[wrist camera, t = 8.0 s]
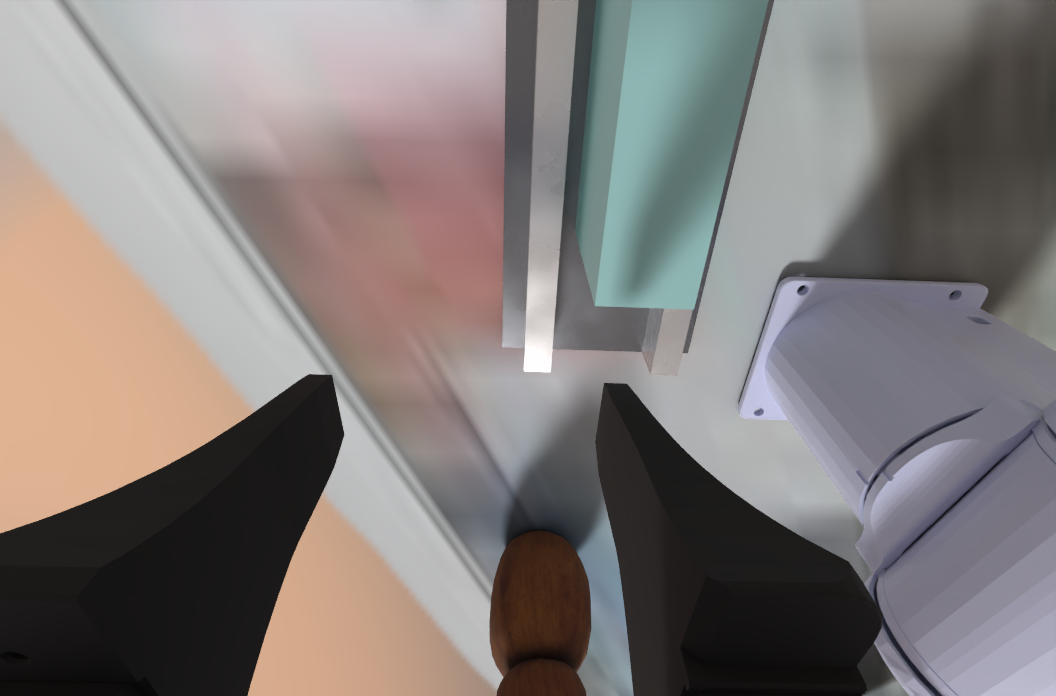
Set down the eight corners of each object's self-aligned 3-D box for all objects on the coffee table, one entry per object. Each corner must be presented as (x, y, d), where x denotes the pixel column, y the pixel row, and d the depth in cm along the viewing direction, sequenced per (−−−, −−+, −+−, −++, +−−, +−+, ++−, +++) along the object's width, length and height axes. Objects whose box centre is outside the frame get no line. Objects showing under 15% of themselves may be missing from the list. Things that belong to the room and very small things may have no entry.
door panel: (691, -34, 16) (788, -82, 10) (645, 234, 21) (694, 309, 15) (600, -39, 16) (643, -90, 10) (575, 231, 21) (594, 305, 15)
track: (855, -370, 13) (922, -455, 11) (684, 346, 24) (700, 376, 22) (512, -390, 13) (509, -484, 10) (503, 341, 24) (500, 370, 22)
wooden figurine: (500, 510, 31) (481, 843, 18) (591, 519, 31) (636, 850, 18) (489, 576, 34) (466, 894, 21) (571, 583, 35) (597, 899, 22)
